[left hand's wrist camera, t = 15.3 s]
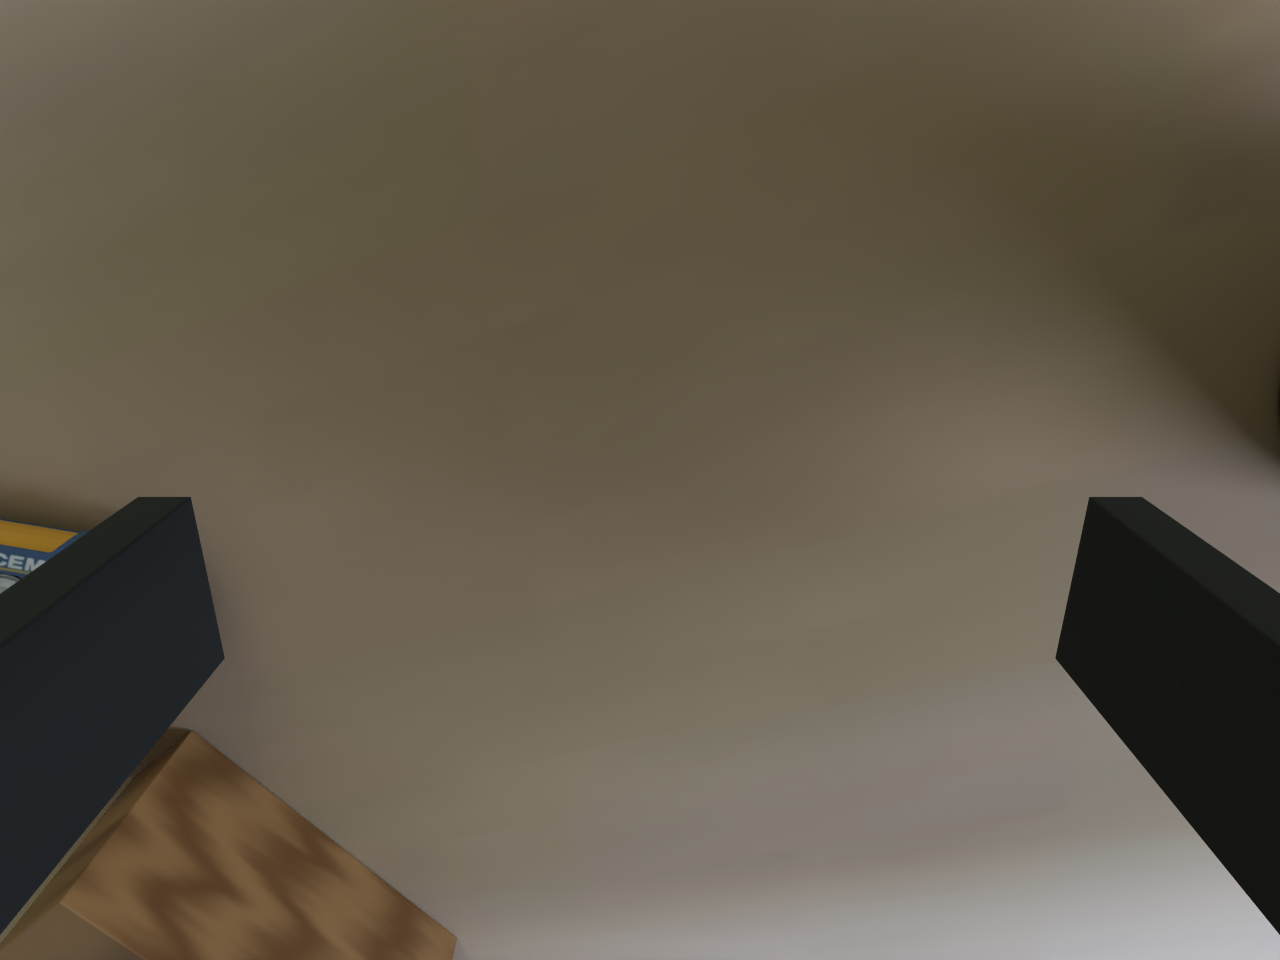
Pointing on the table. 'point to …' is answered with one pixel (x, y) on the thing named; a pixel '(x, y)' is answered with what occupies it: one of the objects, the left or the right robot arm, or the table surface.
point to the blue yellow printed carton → (29, 548)
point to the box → (216, 880)
